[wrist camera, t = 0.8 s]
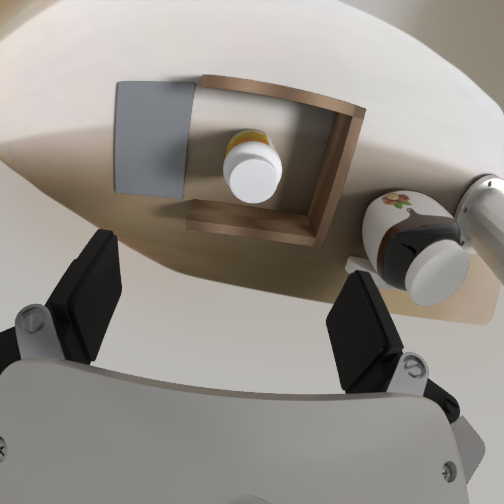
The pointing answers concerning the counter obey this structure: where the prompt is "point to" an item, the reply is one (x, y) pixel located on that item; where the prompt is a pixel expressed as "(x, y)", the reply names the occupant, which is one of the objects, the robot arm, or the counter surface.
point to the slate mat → (152, 137)
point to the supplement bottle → (252, 166)
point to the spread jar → (412, 247)
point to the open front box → (327, 189)
